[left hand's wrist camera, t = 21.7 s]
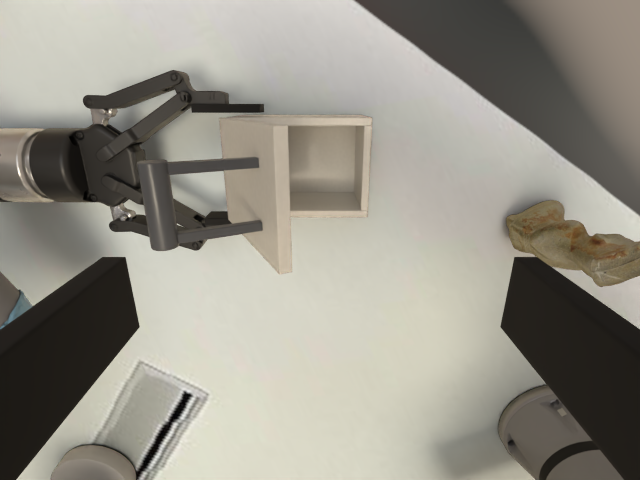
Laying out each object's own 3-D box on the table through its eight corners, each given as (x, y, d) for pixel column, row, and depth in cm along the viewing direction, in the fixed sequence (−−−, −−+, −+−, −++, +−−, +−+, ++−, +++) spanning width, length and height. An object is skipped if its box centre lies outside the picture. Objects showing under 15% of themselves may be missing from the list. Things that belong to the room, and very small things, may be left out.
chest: (361, 114, 43) (372, 117, 34) (358, 196, 46) (367, 217, 38) (244, 114, 43) (225, 117, 34) (250, 196, 46) (234, 217, 38)
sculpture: (558, 232, 48) (658, 286, 34) (503, 248, 49) (577, 308, 34) (554, 191, 46) (657, 229, 32) (496, 208, 47) (572, 253, 33)
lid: (288, 125, 22) (131, 129, 18) (292, 272, 25) (161, 299, 22) (229, 117, 34) (127, 119, 30) (237, 218, 37) (146, 230, 34)
